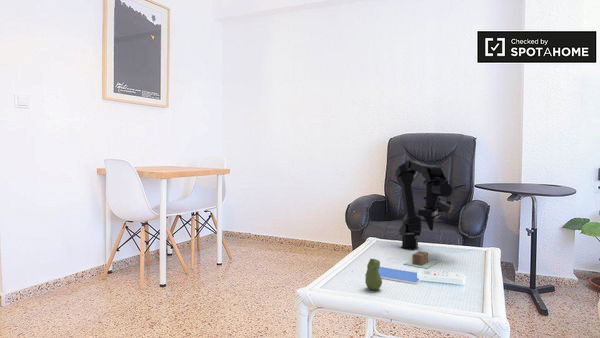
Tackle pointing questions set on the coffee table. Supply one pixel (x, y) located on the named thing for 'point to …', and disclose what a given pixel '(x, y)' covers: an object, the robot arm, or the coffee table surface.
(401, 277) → the tablet computer
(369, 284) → the pear
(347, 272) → the coffee table surface
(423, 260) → the walnut block
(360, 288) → the coffee table surface
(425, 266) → the pale green flat panel
